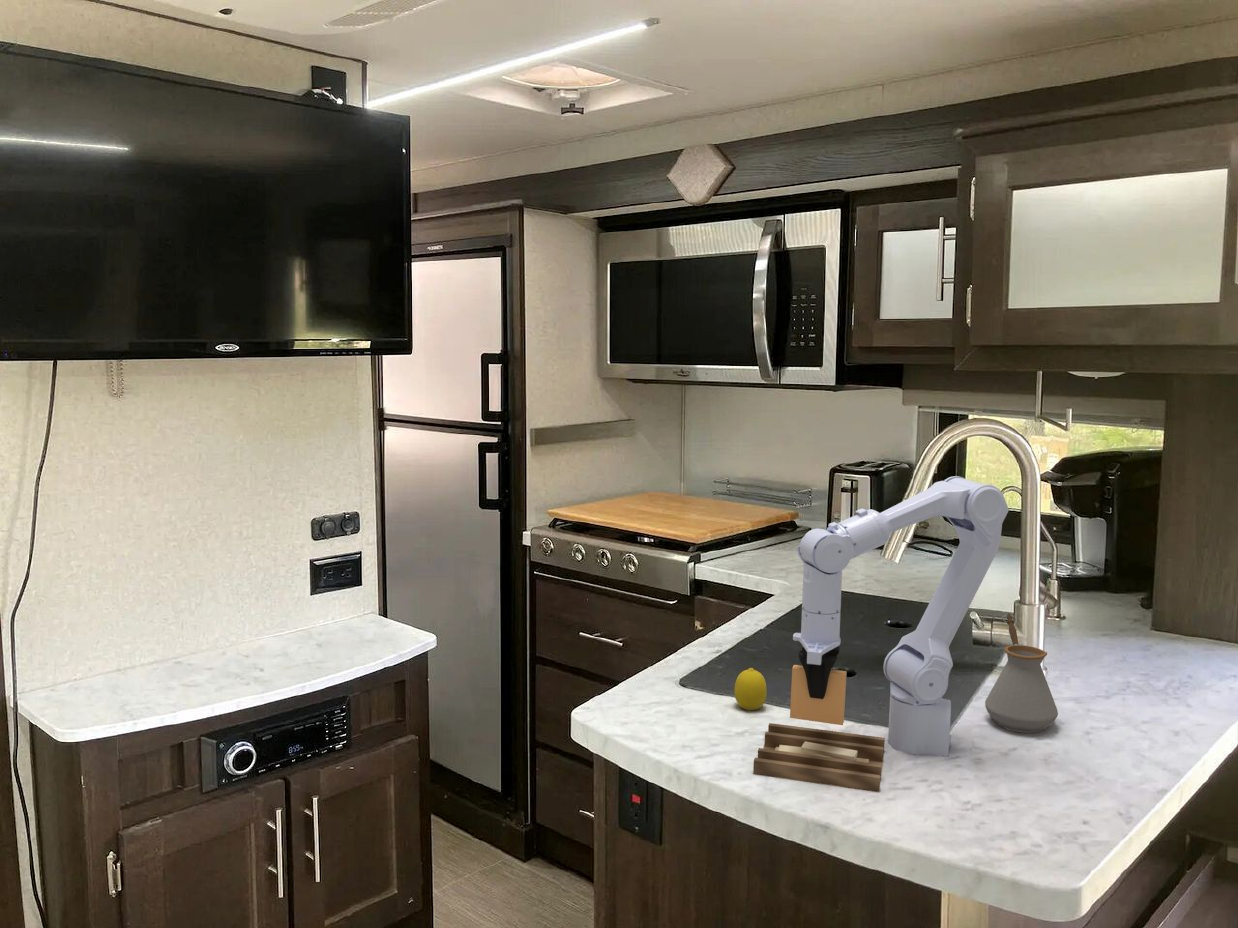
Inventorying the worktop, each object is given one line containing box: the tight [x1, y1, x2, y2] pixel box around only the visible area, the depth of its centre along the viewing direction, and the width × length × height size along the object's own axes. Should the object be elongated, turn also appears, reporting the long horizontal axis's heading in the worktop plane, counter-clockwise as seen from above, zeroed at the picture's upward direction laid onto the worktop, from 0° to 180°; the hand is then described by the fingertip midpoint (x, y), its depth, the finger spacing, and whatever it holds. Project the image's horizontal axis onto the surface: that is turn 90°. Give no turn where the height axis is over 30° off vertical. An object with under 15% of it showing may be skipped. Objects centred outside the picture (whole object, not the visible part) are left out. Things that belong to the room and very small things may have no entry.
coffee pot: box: [984, 613, 1059, 734], centre depth 171 cm, size 21×12×15 cm, turn 168°
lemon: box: [733, 667, 768, 711], centre depth 170 cm, size 6×6×8 cm
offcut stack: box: [775, 742, 869, 763], centre depth 149 cm, size 14×4×2 cm, turn 72°
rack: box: [752, 722, 886, 793], centre depth 150 cm, size 18×16×3 cm
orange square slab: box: [789, 664, 848, 726], centre depth 151 cm, size 8×2×8 cm, turn 72°
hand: (817, 695), depth 151 cm, fingers closed on orange square slab, 2 cm apart
